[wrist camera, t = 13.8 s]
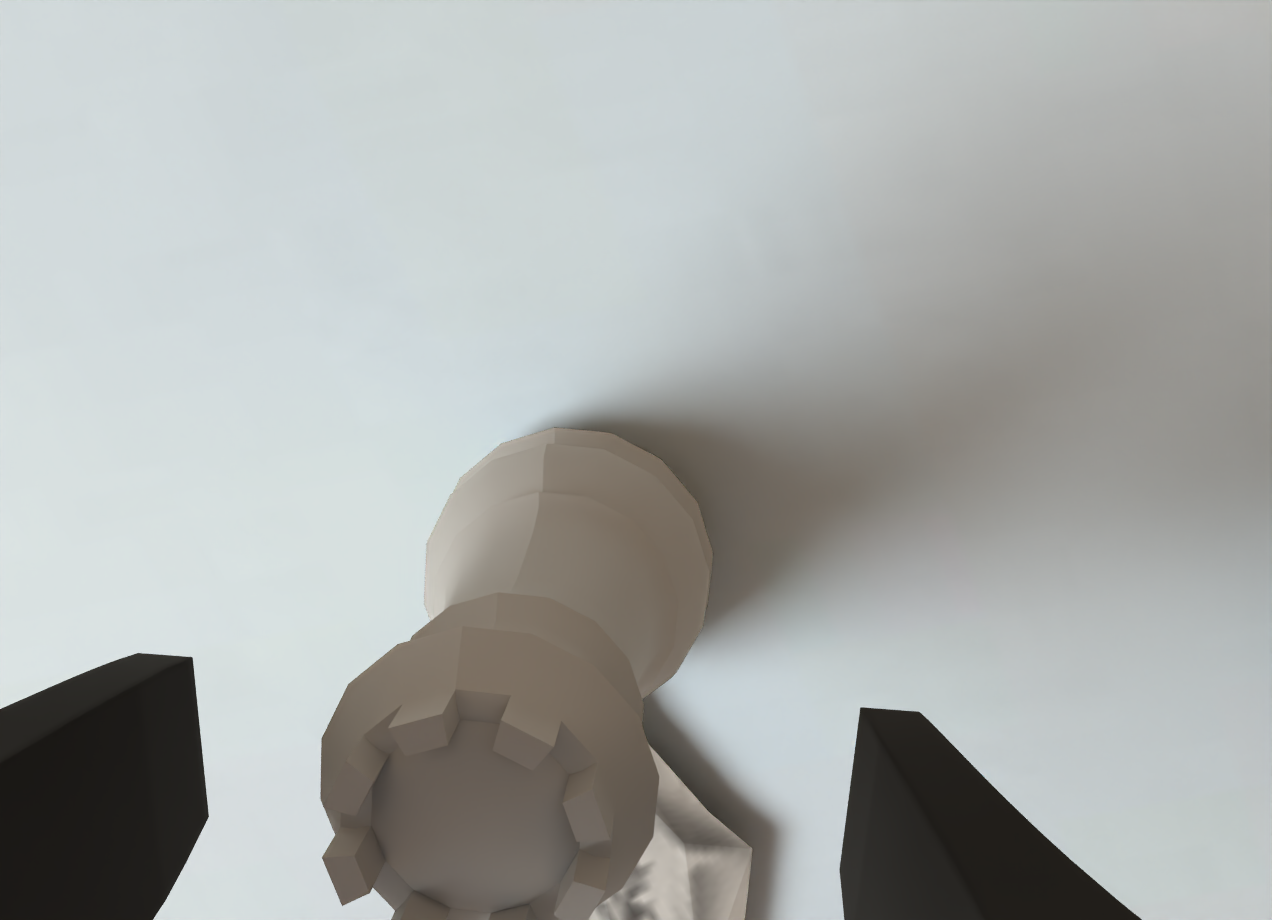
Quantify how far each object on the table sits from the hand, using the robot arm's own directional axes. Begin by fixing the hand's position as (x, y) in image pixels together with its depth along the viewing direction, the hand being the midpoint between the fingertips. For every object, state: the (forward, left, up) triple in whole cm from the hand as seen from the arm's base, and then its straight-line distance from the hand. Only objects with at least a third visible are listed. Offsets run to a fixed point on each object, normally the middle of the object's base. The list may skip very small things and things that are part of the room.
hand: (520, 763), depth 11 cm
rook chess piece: (0, 0, -6) cm, 6 cm away
